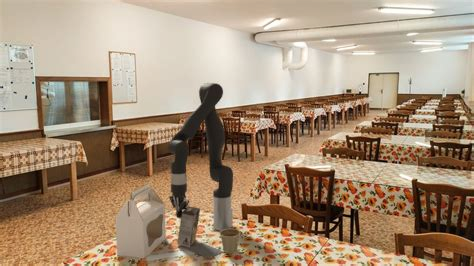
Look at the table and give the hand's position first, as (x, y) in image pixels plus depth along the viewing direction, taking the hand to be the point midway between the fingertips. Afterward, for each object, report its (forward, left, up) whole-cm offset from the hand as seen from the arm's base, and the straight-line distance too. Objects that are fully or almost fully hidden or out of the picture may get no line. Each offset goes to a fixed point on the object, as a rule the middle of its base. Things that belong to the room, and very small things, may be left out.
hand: (179, 217), depth 176 cm
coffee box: (0, +5, -11) cm, 12 cm away
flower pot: (-8, +26, -12) cm, 29 cm away
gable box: (+16, -7, -12) cm, 21 cm away
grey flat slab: (-1, +17, -11) cm, 21 cm away
